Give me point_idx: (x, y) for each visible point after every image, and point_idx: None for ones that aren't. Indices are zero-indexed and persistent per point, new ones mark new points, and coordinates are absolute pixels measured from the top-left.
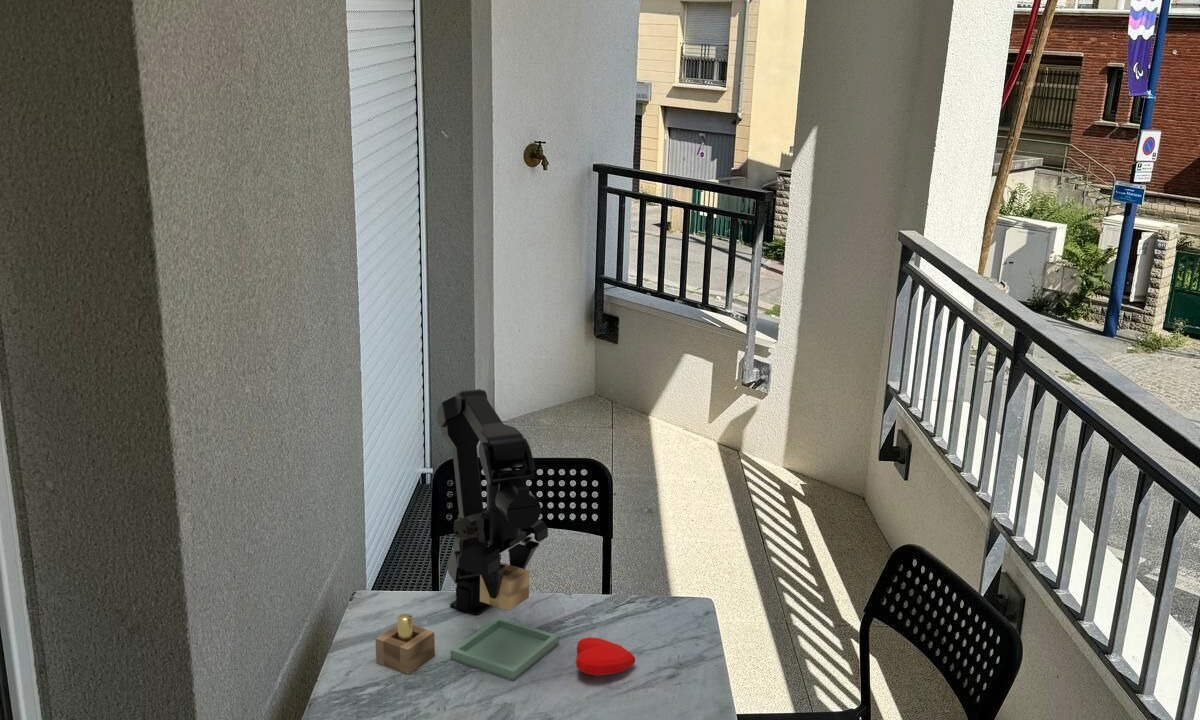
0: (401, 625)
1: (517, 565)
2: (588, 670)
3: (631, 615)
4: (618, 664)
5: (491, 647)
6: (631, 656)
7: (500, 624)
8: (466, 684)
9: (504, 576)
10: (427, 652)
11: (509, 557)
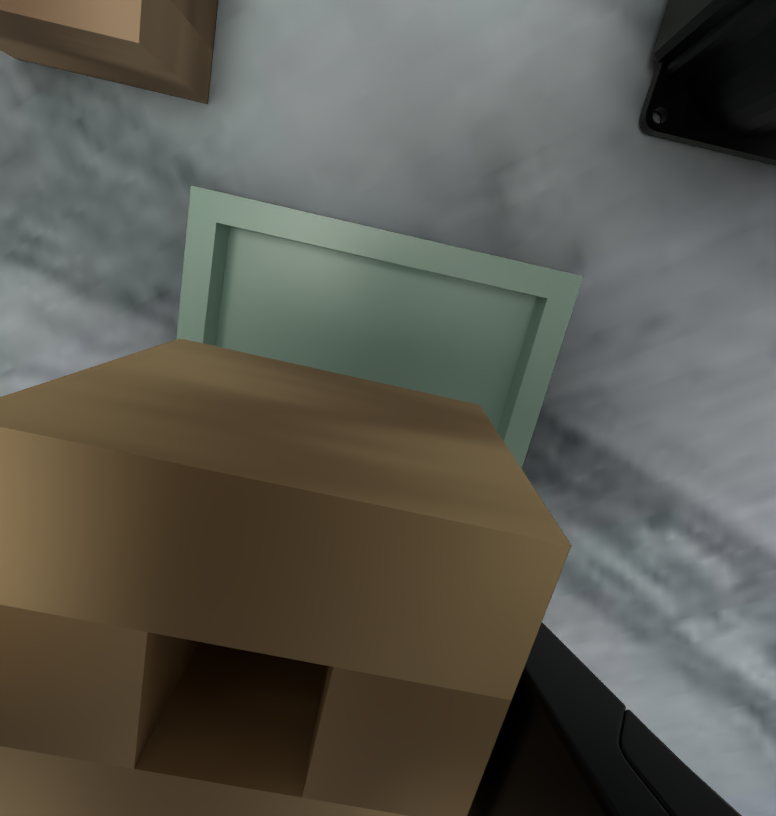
0: None
1: (497, 808)
2: None
3: (760, 724)
4: None
5: (351, 336)
6: None
7: (538, 304)
8: (80, 344)
9: (105, 753)
10: (129, 71)
11: (593, 792)
